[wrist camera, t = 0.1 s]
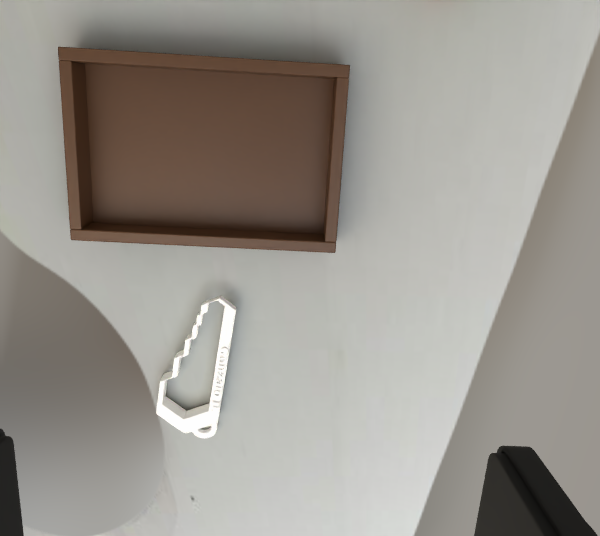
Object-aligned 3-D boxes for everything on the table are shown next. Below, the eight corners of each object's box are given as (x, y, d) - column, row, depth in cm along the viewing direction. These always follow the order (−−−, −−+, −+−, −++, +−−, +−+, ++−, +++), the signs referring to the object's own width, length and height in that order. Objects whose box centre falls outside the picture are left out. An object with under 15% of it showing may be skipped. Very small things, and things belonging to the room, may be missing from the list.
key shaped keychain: (175, 284, 42) (170, 291, 40) (238, 294, 42) (237, 302, 41) (157, 427, 45) (152, 439, 44) (215, 436, 46) (213, 448, 44)
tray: (75, 51, 37) (57, 46, 34) (345, 68, 38) (350, 65, 35) (86, 230, 40) (70, 240, 38) (331, 242, 41) (335, 253, 38)
